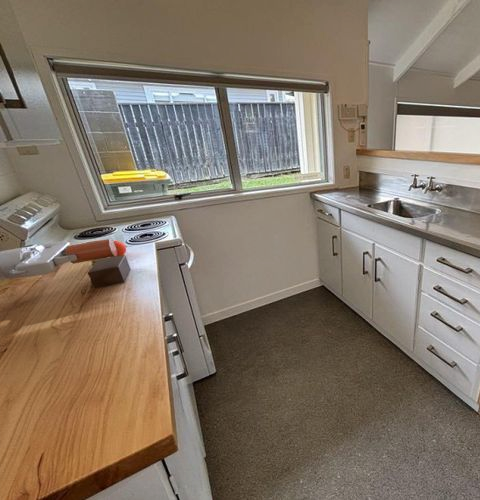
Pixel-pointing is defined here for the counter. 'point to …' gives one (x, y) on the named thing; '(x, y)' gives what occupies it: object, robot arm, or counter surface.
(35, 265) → the robot arm
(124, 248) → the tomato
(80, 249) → the cup
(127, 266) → the walnut block
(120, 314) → the counter surface
